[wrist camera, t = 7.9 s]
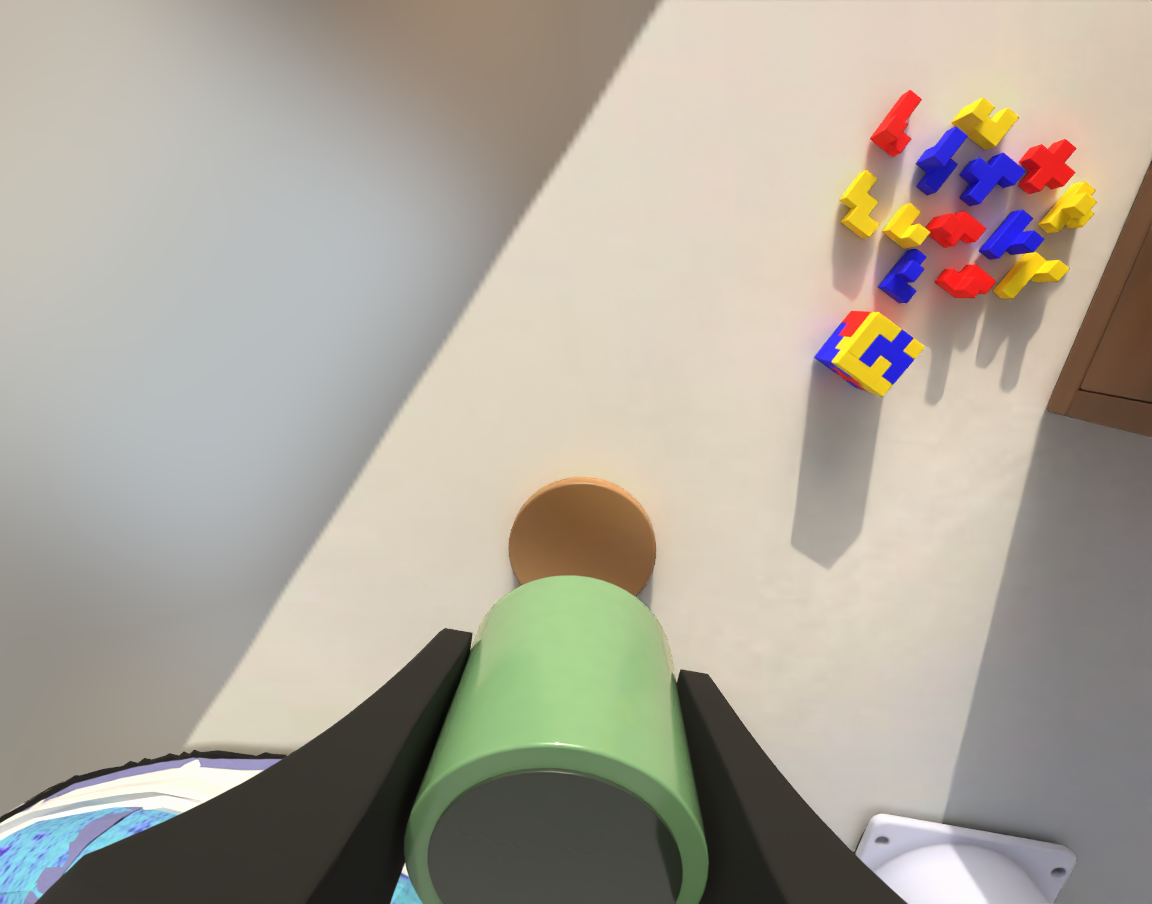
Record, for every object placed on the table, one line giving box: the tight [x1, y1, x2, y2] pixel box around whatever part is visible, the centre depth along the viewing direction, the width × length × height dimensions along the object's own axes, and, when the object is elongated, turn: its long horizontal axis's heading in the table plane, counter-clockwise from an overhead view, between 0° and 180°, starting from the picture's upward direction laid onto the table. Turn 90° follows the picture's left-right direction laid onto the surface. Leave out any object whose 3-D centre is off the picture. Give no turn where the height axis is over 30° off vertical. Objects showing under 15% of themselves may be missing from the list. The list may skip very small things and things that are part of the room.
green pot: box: [404, 575, 709, 904], centre depth 10 cm, size 5×5×5 cm
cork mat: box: [509, 477, 656, 597], centre depth 18 cm, size 5×5×1 cm
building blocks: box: [814, 90, 1097, 397], centre depth 15 cm, size 6×8×2 cm
